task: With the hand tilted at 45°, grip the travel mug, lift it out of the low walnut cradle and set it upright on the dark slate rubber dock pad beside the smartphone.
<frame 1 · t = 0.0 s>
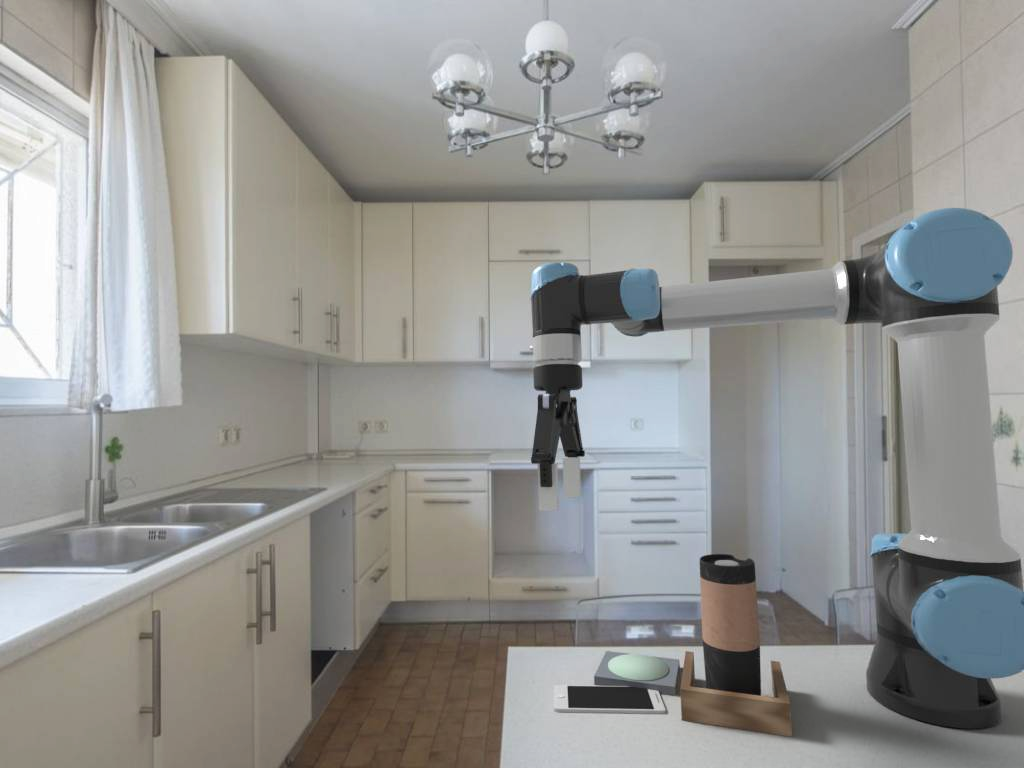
hand: (561, 503, 85), 28 cm above the table, tool pointing down, fingers open, 13 cm apart
travel mug: (733, 705, 79), on the table
dock pad: (638, 675, 89), on the table
smartphone: (607, 704, 81), on the table
mug cradle: (733, 703, 79), on the table
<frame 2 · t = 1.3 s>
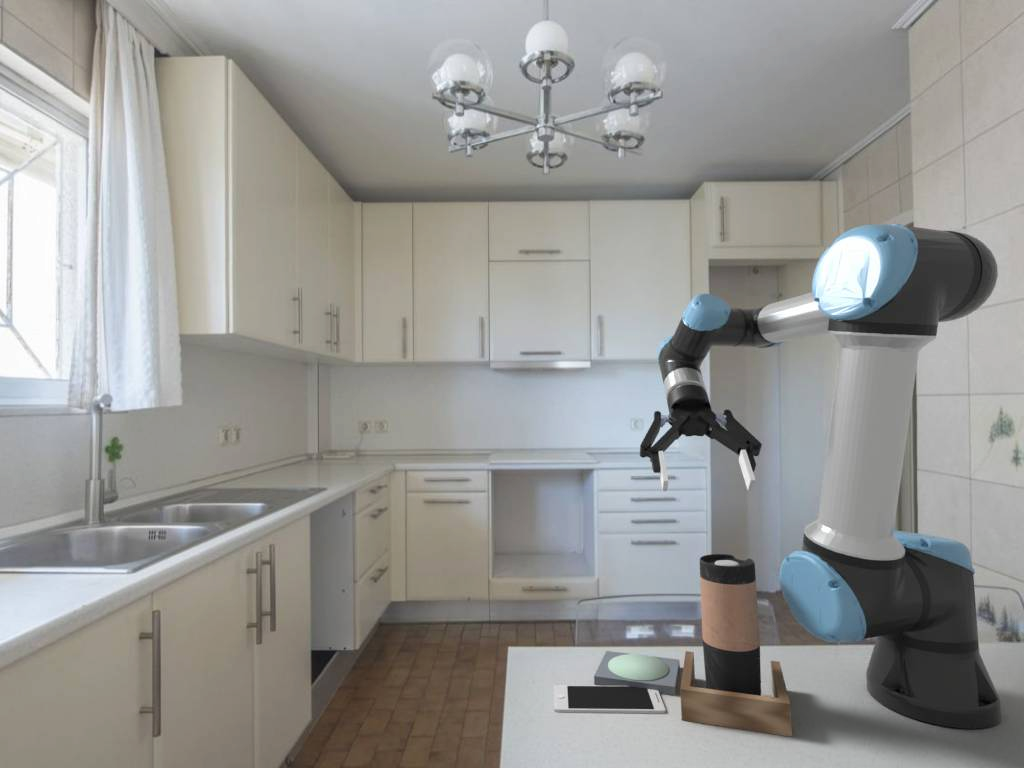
hand: (708, 486, 91), 29 cm above the table, tool tilted 45°, fingers open, 13 cm apart
nothing on the table moved.
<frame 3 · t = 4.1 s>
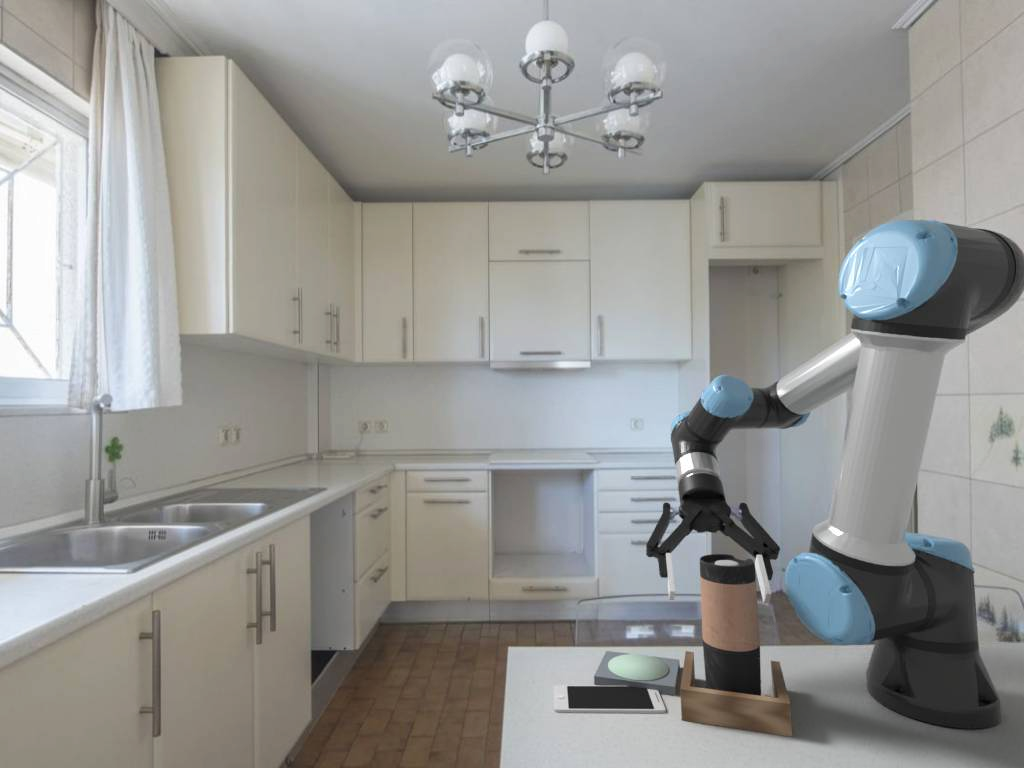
hand: (719, 597, 84), 14 cm above the table, tool tilted 45°, fingers open, 13 cm apart
nothing on the table moved.
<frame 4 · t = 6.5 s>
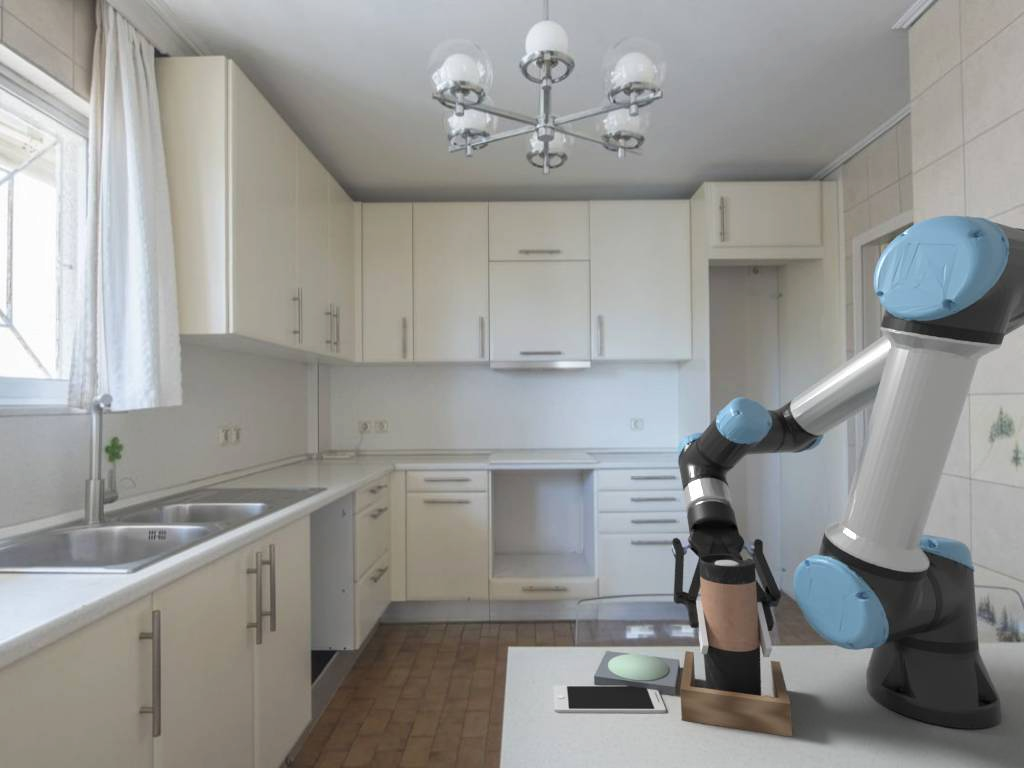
hand: (736, 651, 76), 9 cm above the table, tool tilted 45°, fingers closed on travel mug, 7 cm apart
travel mug: (734, 705, 79), on the table, touching gripper
everything else where it was.
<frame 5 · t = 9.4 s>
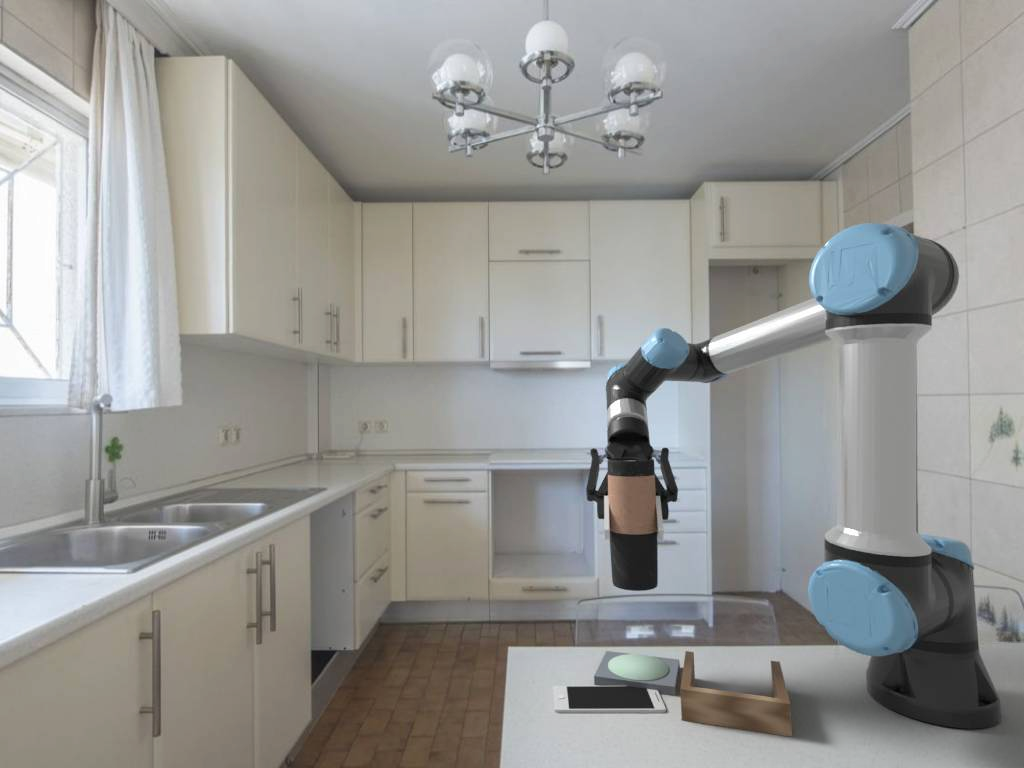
hand: (633, 534, 87), 23 cm above the table, tool tilted 45°, fingers closed on travel mug, 7 cm apart
travel mug: (634, 585, 90), point 14 cm above the table, touching gripper
everything else where it was.
when the fingers open (11 cm above the table, at t = 12.3 s): travel mug drops 1 cm, resting on dock pad.
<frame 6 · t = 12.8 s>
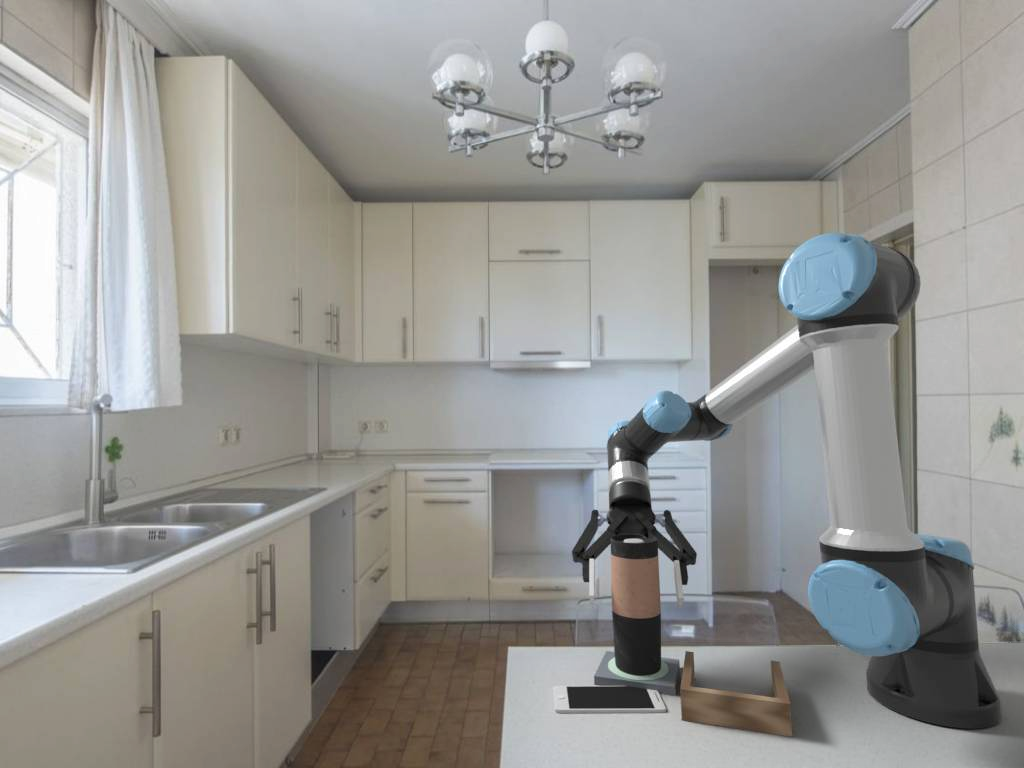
hand: (635, 601, 87), 12 cm above the table, tool tilted 45°, fingers open, 13 cm apart
travel mug: (638, 667, 89), point 1 cm above the table, touching dock pad
everything else where it was.
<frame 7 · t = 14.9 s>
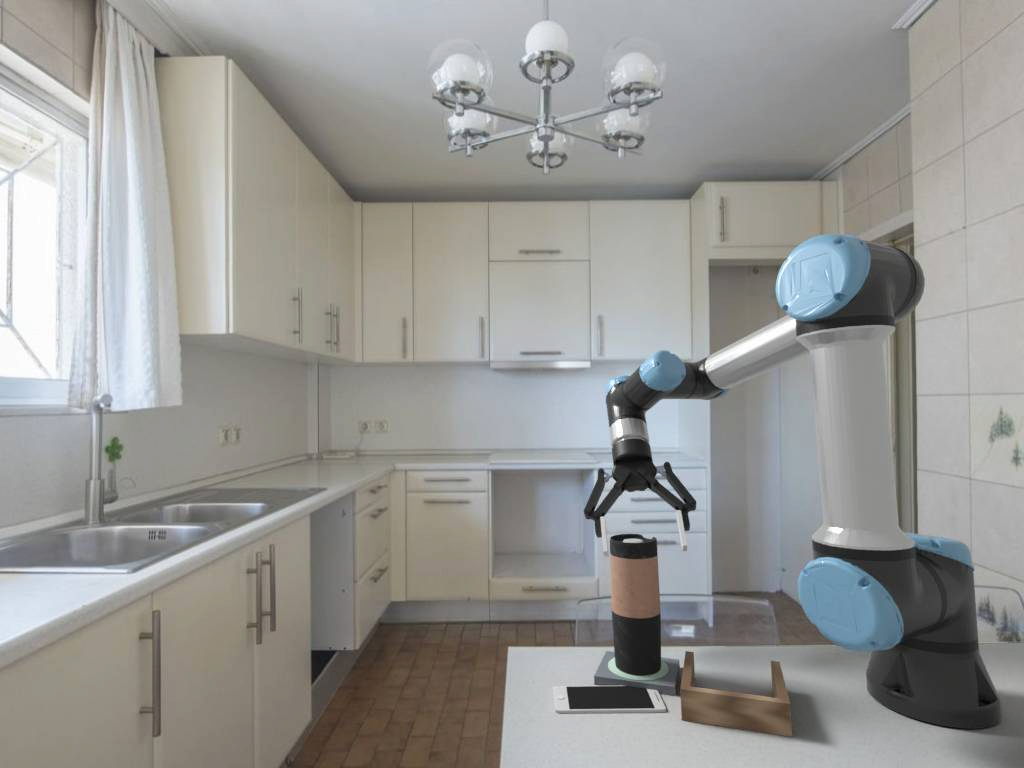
hand: (645, 551, 98), 17 cm above the table, tool tilted 35°, fingers open, 13 cm apart
nothing on the table moved.
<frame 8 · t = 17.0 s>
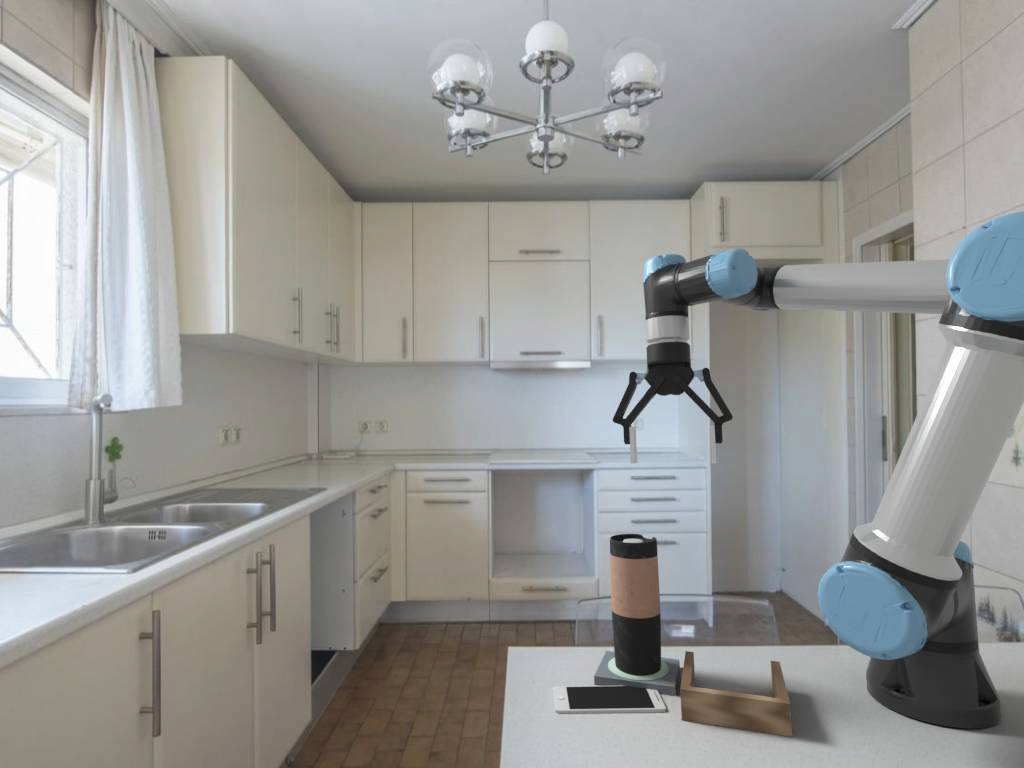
hand: (673, 463, 98), 33 cm above the table, tool pointing down, fingers open, 13 cm apart
nothing on the table moved.
at the end: travel mug inside the target area (0.1 cm from its centre), point 1.2 cm above the table; travel mug tilted 0°; the gripper is holding nothing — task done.
